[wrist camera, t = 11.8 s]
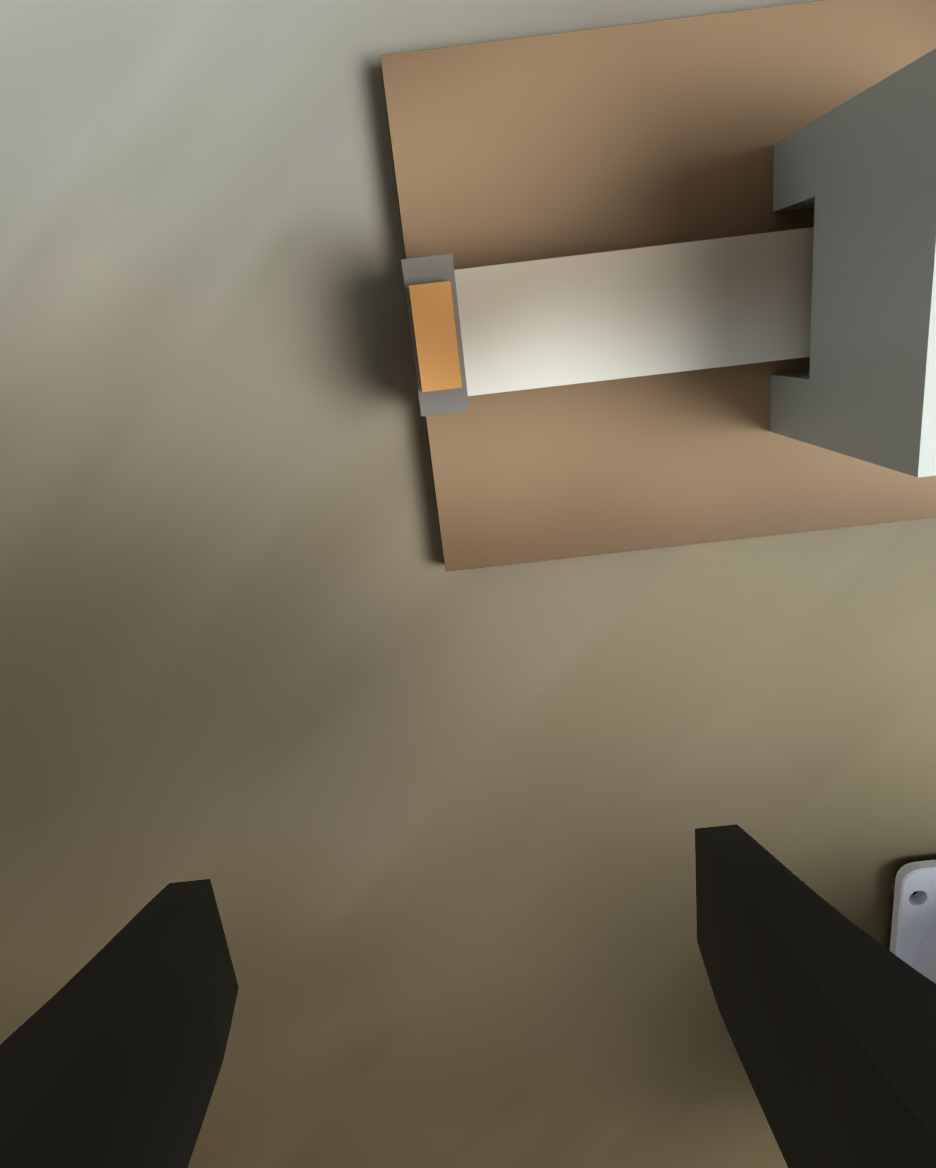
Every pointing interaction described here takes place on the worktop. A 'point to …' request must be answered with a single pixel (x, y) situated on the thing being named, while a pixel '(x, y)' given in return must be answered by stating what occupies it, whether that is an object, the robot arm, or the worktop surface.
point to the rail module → (867, 275)
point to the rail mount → (627, 278)
